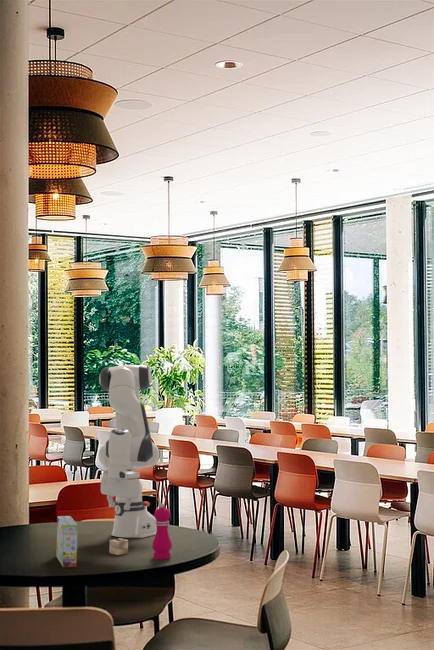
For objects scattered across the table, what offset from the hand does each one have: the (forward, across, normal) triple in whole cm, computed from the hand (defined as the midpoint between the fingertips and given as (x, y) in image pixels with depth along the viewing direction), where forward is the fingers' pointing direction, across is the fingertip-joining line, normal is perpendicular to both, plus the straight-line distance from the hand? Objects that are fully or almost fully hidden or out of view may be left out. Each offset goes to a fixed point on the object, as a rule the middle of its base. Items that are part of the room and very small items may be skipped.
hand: (119, 508), depth 347 cm
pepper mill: (+17, +18, +6) cm, 25 cm away
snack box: (+17, 0, -24) cm, 29 cm away
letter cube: (+17, 0, 0) cm, 17 cm away
